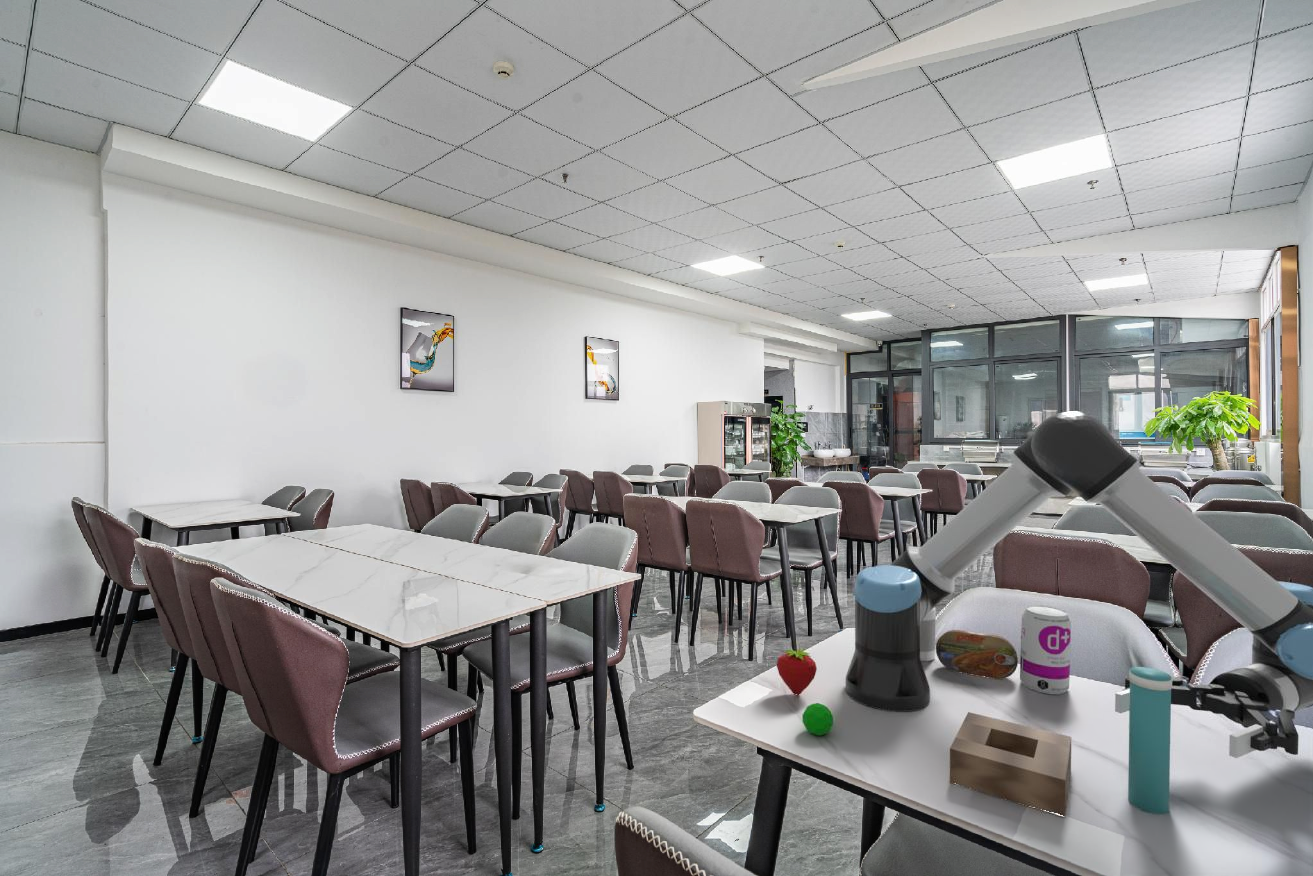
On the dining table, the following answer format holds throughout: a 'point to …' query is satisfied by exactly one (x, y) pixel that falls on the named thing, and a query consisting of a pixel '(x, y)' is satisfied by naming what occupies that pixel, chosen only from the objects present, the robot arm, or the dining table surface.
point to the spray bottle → (928, 636)
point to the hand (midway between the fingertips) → (1171, 723)
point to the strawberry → (796, 670)
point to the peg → (1149, 739)
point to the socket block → (1012, 762)
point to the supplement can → (1045, 649)
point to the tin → (977, 654)
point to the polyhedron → (818, 719)
